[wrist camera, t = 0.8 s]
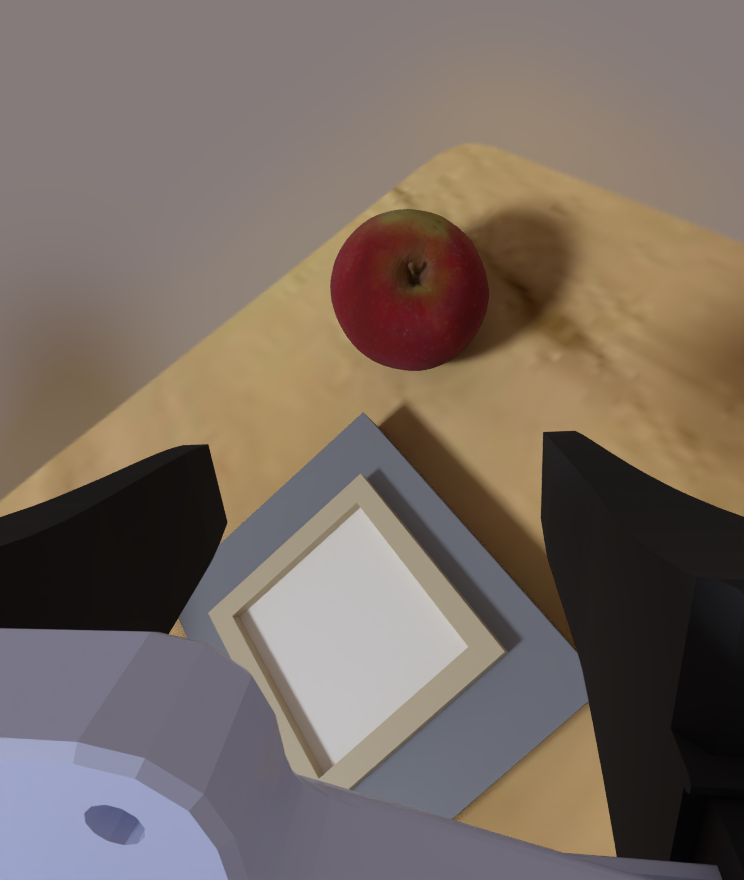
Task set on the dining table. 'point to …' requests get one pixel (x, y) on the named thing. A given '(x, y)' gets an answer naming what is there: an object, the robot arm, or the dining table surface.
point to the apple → (409, 289)
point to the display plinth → (385, 632)
